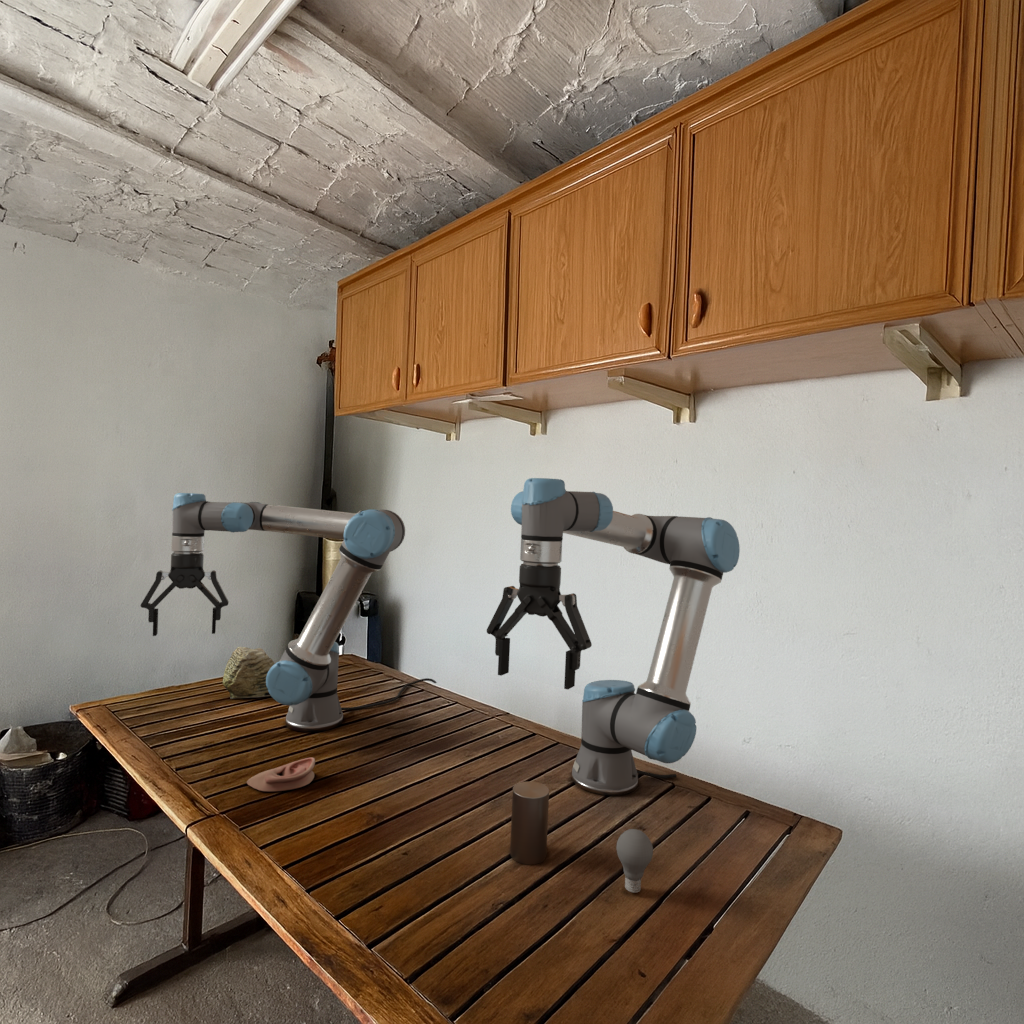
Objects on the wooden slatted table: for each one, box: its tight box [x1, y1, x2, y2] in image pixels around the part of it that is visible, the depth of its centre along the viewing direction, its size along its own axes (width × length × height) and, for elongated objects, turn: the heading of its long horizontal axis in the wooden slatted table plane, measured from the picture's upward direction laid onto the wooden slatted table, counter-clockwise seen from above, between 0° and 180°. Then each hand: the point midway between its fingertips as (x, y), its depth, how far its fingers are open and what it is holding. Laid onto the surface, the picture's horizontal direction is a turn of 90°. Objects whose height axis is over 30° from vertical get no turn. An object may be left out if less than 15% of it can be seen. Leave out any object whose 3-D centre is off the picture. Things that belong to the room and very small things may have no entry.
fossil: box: [222, 646, 276, 699], centre depth 198 cm, size 9×18×15 cm, turn 132°
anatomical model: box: [246, 757, 316, 792], centre depth 140 cm, size 13×4×12 cm
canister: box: [509, 781, 550, 866], centre depth 115 cm, size 7×7×12 cm
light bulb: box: [615, 828, 654, 894], centre depth 106 cm, size 6×6×10 cm
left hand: (184, 633), depth 165 cm, fingers open, 13 cm apart
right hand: (535, 680), depth 115 cm, fingers open, 13 cm apart
